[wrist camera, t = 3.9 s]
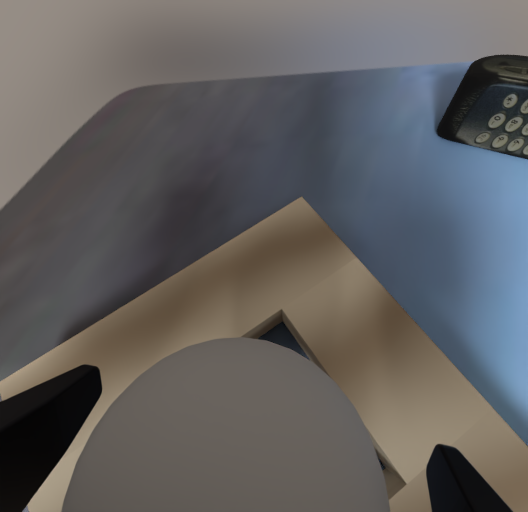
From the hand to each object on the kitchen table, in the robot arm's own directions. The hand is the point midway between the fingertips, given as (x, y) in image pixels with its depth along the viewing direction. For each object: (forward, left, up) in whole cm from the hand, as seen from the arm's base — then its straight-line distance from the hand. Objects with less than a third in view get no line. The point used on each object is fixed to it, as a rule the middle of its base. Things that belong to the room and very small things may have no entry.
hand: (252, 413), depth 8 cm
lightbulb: (-1, +1, -7) cm, 7 cm away
